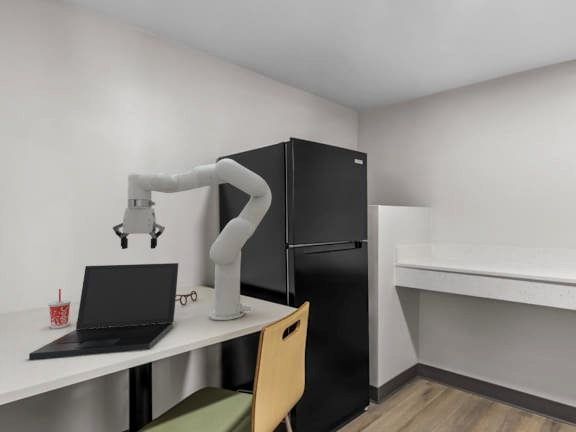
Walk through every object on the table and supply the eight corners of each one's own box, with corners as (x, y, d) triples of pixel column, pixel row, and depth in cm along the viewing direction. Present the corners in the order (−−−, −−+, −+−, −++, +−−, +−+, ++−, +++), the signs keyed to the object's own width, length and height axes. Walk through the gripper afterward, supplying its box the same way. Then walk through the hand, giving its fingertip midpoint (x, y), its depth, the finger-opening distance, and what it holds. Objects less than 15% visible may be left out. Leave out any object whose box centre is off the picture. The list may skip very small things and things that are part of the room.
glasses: (181, 307, 155) (181, 296, 155) (153, 307, 155) (153, 296, 155) (197, 300, 168) (197, 290, 168) (171, 300, 169) (171, 289, 169)
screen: (177, 263, 132) (178, 263, 133) (85, 265, 125) (86, 266, 125) (172, 322, 127) (173, 322, 128) (75, 329, 119) (77, 329, 120)
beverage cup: (51, 330, 123) (51, 291, 124) (45, 327, 127) (45, 289, 127) (73, 325, 129) (73, 288, 129) (67, 323, 132) (67, 286, 132)
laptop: (149, 349, 106) (149, 343, 106) (29, 360, 98) (29, 353, 98) (172, 327, 127) (172, 322, 127) (75, 334, 119) (75, 329, 119)
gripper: (168, 205, 140) (167, 247, 139) (118, 204, 135) (117, 248, 135) (161, 204, 132) (160, 249, 132) (108, 203, 128) (108, 249, 128)
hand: (139, 248), depth 134 cm, fingers open, 9 cm apart
